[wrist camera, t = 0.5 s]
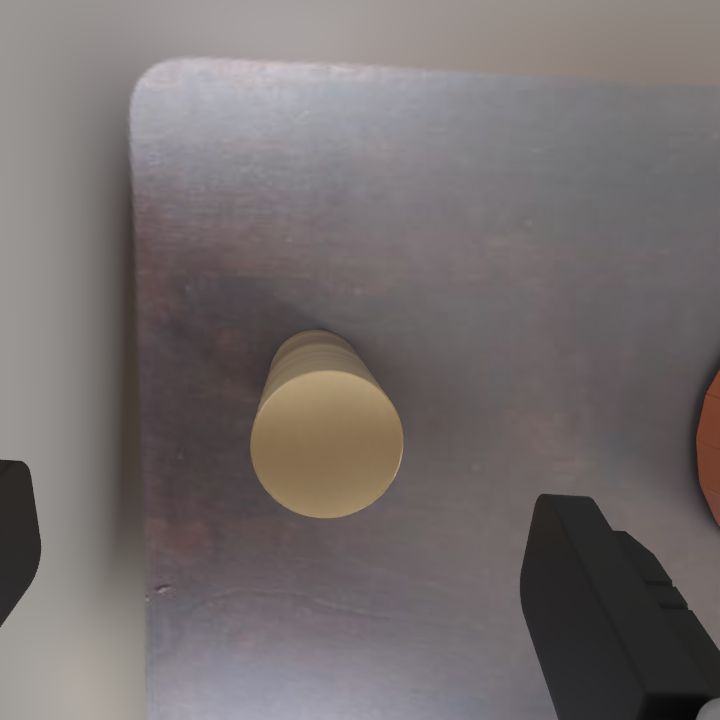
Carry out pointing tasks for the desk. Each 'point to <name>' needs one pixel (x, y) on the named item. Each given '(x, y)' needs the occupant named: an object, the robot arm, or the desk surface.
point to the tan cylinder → (324, 429)
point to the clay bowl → (710, 447)
